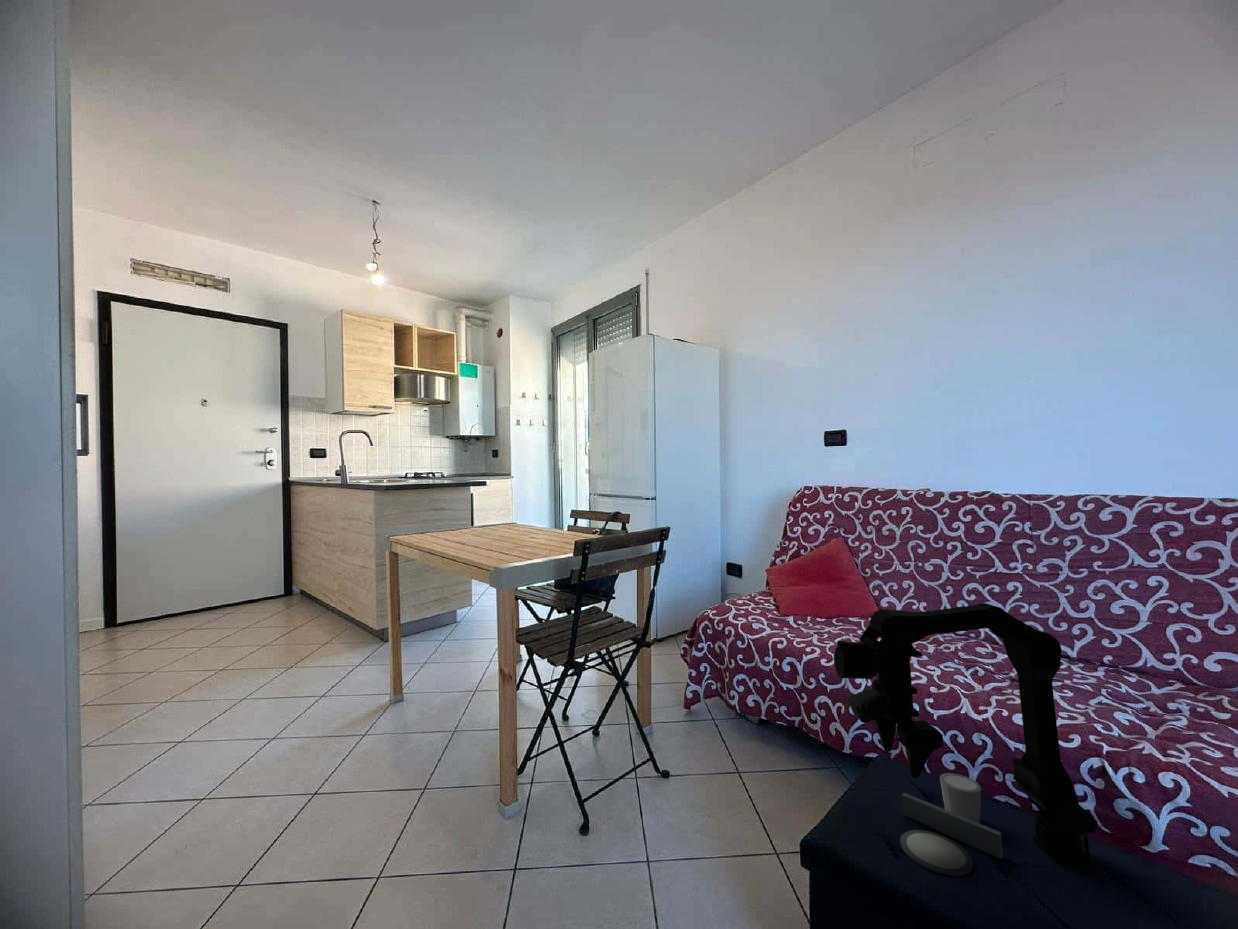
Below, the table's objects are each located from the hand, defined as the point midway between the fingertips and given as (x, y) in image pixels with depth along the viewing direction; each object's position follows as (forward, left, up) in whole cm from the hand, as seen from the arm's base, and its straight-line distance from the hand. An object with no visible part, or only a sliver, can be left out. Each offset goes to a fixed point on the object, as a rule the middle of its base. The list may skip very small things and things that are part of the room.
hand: (900, 763), depth 90 cm
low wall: (-10, -3, -14) cm, 18 cm away
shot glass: (-15, -9, -15) cm, 23 cm away
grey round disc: (-4, +2, -14) cm, 15 cm away
